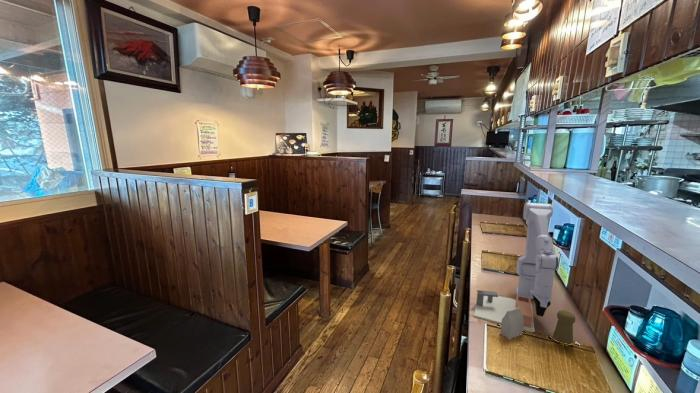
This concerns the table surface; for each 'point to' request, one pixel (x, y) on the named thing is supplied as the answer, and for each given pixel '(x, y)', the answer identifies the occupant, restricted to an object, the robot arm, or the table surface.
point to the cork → (564, 327)
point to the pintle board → (495, 307)
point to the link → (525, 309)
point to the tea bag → (512, 323)
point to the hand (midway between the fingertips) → (539, 315)
